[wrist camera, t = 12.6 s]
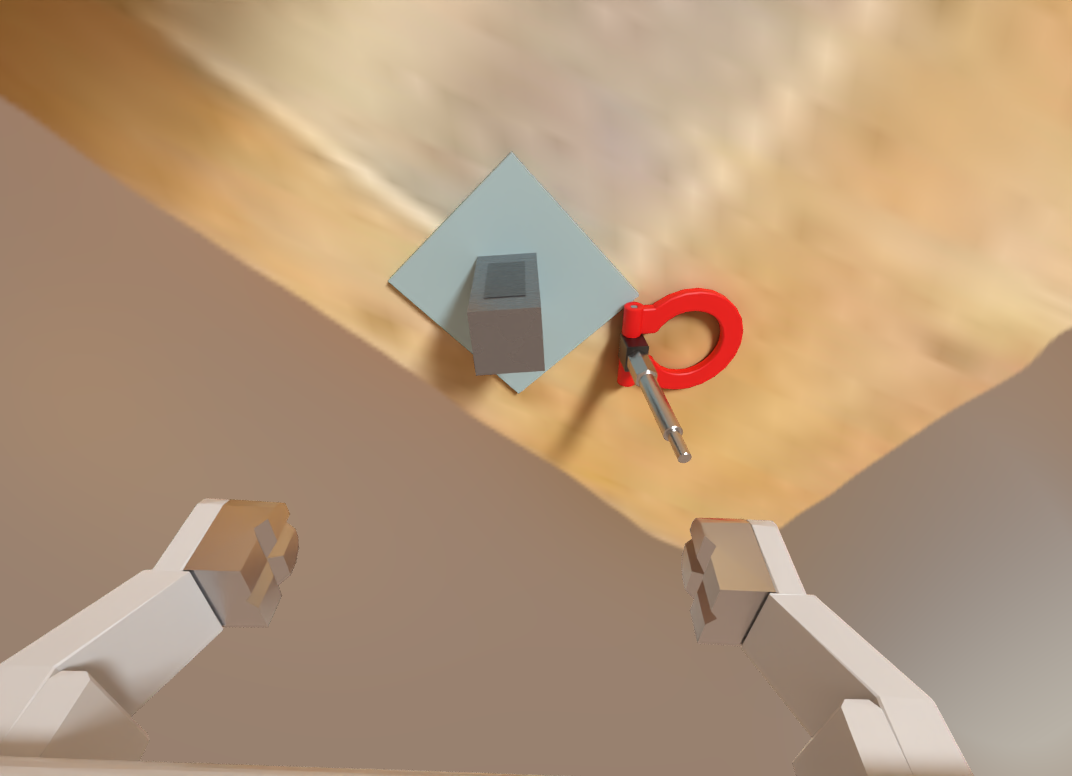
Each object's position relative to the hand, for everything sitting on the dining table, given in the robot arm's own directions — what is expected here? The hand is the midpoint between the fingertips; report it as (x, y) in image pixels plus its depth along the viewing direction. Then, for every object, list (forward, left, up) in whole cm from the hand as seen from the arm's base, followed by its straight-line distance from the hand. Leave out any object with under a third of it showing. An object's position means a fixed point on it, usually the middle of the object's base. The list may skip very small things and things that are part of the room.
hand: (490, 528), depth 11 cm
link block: (+4, -4, -28) cm, 29 cm away
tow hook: (+16, +2, -29) cm, 33 cm away
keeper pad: (+5, -4, -29) cm, 29 cm away
